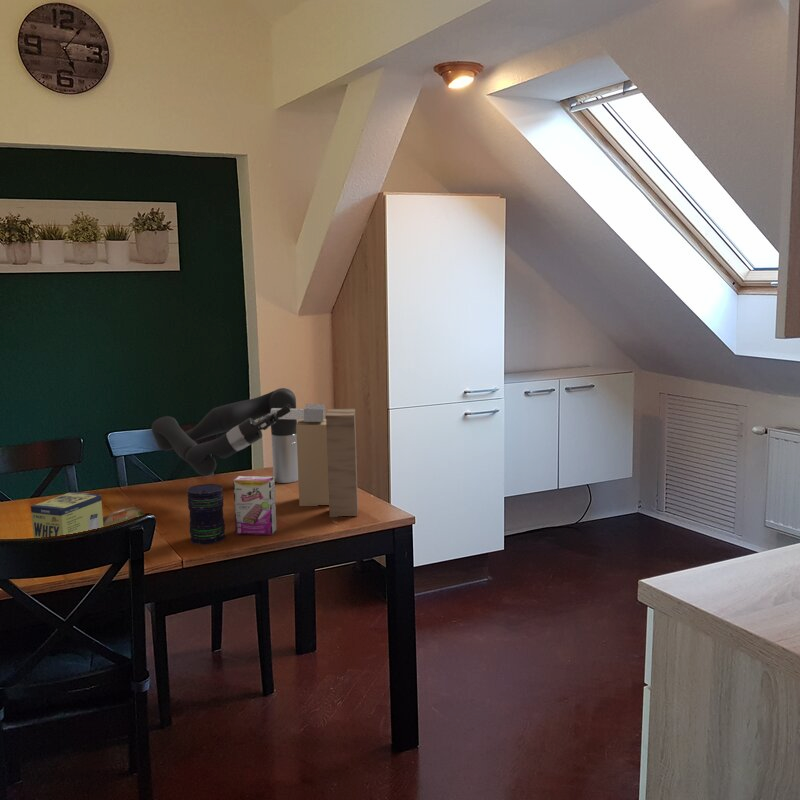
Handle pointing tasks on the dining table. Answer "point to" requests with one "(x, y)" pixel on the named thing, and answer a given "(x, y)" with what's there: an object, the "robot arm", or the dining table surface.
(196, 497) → the storage jar
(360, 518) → the dining table surface
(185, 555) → the dining table surface
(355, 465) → the tall wooden plank
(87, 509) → the protein box
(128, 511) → the tin
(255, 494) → the candy bar box
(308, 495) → the cardboard box
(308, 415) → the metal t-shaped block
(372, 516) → the dining table surface
